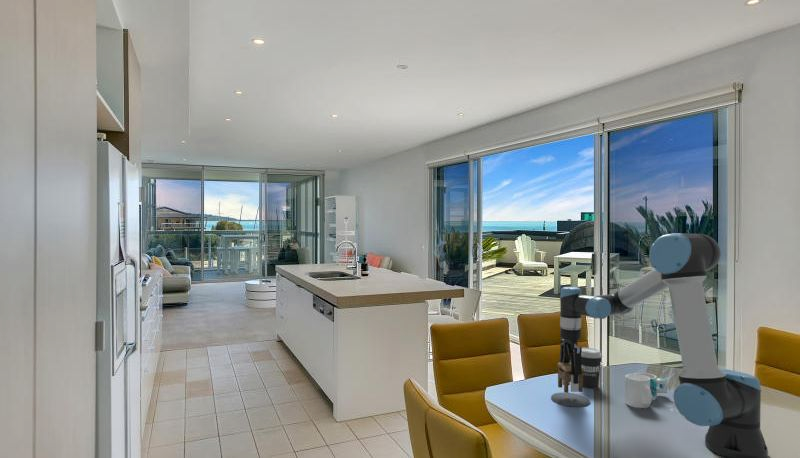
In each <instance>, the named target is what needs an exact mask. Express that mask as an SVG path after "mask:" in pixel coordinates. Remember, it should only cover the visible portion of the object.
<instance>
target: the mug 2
mask: <svg viewBox="0 0 800 458" xmlns="http://www.w3.org/2000/svg"><path fill="white" fill-rule="evenodd" d="M633 374H640V375H644V376H647V377H649V378H650V390H651V393H652V401H654V400H653V399H656V400H657V398H658V397H657V395H658V394H667V390H668V389H667V387H668V386H667V385H668V384H667V379H665V378H663V377H660V378H659V377H658V376H657V375H654V374H653V373H648V372H639V371H638V372H634V373H633ZM657 377H658V378H657Z"/></svg>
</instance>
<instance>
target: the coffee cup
mask: <svg viewBox="0 0 800 458" xmlns="http://www.w3.org/2000/svg"><path fill="white" fill-rule="evenodd" d="M581 348H582V352H581V362H582V367H583V388H585V389H590V390H594V389H598V388H599V382H600V372H601V371H600V370H601V362H602V361H601V360H602V357H603V354H602V352H601V350H600V349H597V348H593V347H581Z"/></svg>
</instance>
